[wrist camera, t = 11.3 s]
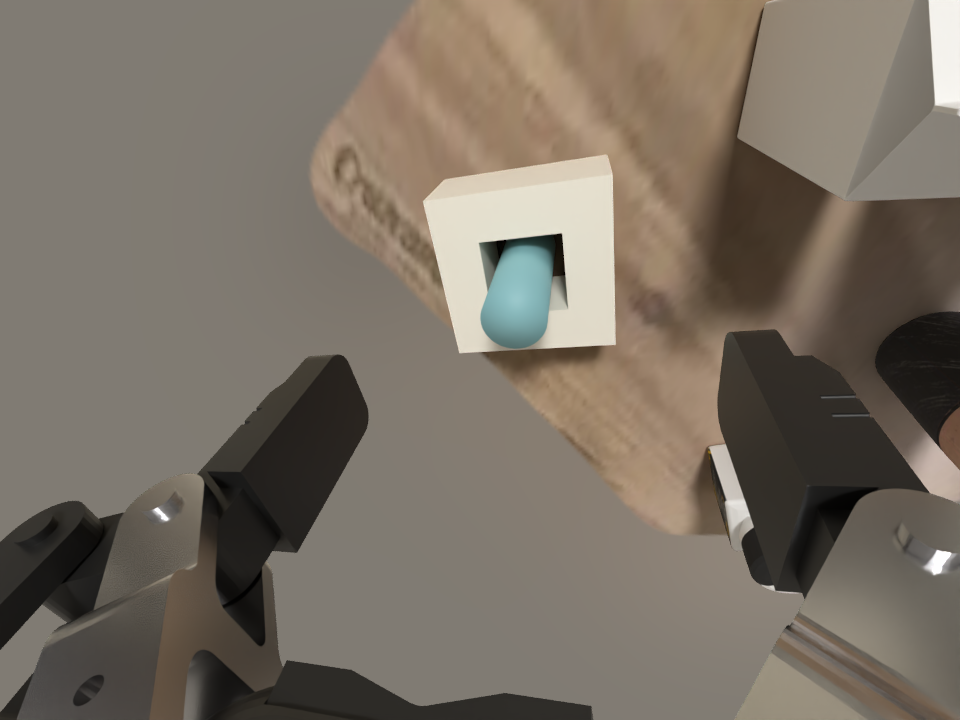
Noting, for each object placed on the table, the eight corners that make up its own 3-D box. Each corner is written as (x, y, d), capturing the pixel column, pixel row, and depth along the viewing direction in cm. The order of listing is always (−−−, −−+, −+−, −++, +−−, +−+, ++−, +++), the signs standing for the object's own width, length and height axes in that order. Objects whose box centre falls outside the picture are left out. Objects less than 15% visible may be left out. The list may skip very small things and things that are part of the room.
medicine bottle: (706, 444, 45) (741, 555, 35) (789, 433, 42) (852, 549, 33) (714, 492, 48) (748, 604, 38) (791, 484, 46) (849, 603, 36)
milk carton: (858, 130, 28) (1188, 230, 13) (735, 138, 30) (902, 237, 14) (907, -15, 24) (1466, -117, 9) (763, 1, 26) (1035, -62, 10)
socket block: (607, 154, 32) (612, 174, 27) (610, 306, 38) (615, 344, 33) (444, 179, 35) (423, 201, 30) (473, 316, 41) (459, 353, 36)
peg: (553, 219, 35) (544, 286, 25) (557, 267, 37) (550, 346, 27) (502, 225, 36) (474, 292, 26) (509, 272, 38) (486, 350, 28)
